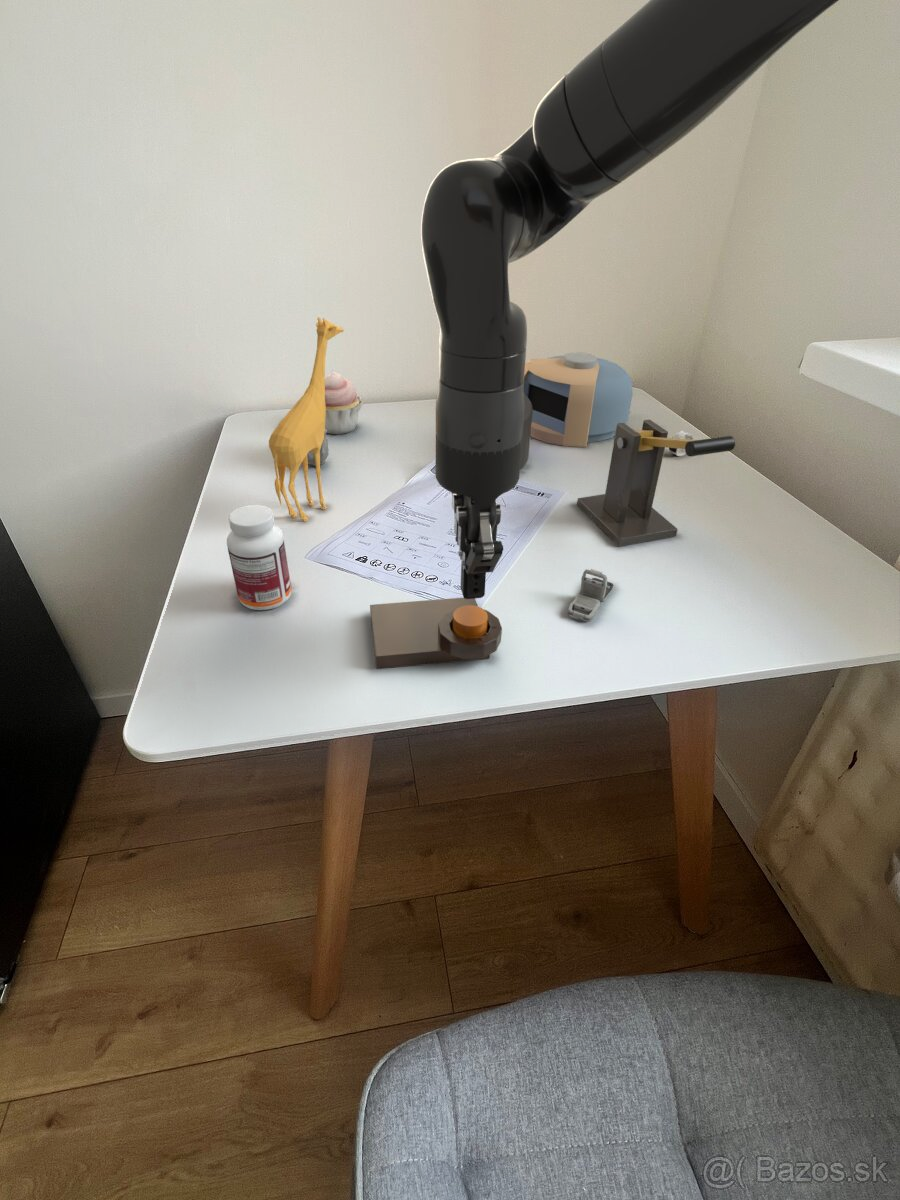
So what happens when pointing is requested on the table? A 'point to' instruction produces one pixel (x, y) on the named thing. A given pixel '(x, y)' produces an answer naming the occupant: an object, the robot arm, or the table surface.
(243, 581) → the pill bottle
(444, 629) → the switch block
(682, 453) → the smartwatch
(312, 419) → the giraffe
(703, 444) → the lever handle
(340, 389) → the cupcake
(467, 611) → the light button
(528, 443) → the leaning round-cornered charcoal block
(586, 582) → the strap clip
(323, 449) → the stone
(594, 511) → the lever stand
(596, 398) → the alarm clock
